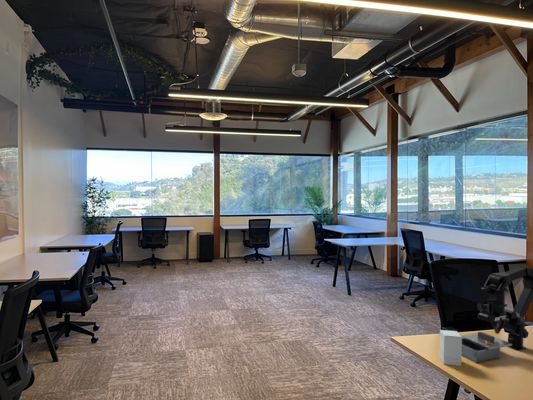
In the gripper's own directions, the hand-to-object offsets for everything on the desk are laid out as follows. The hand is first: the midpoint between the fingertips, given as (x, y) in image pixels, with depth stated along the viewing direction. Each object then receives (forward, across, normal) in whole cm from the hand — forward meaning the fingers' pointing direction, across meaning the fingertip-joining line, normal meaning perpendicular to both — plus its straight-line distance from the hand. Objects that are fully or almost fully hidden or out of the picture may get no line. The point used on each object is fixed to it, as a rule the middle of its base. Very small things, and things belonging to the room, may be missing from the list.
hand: (496, 333), depth 174 cm
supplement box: (+8, +31, +2) cm, 32 cm away
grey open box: (+8, +14, 0) cm, 16 cm away
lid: (+3, +7, 0) cm, 8 cm away
